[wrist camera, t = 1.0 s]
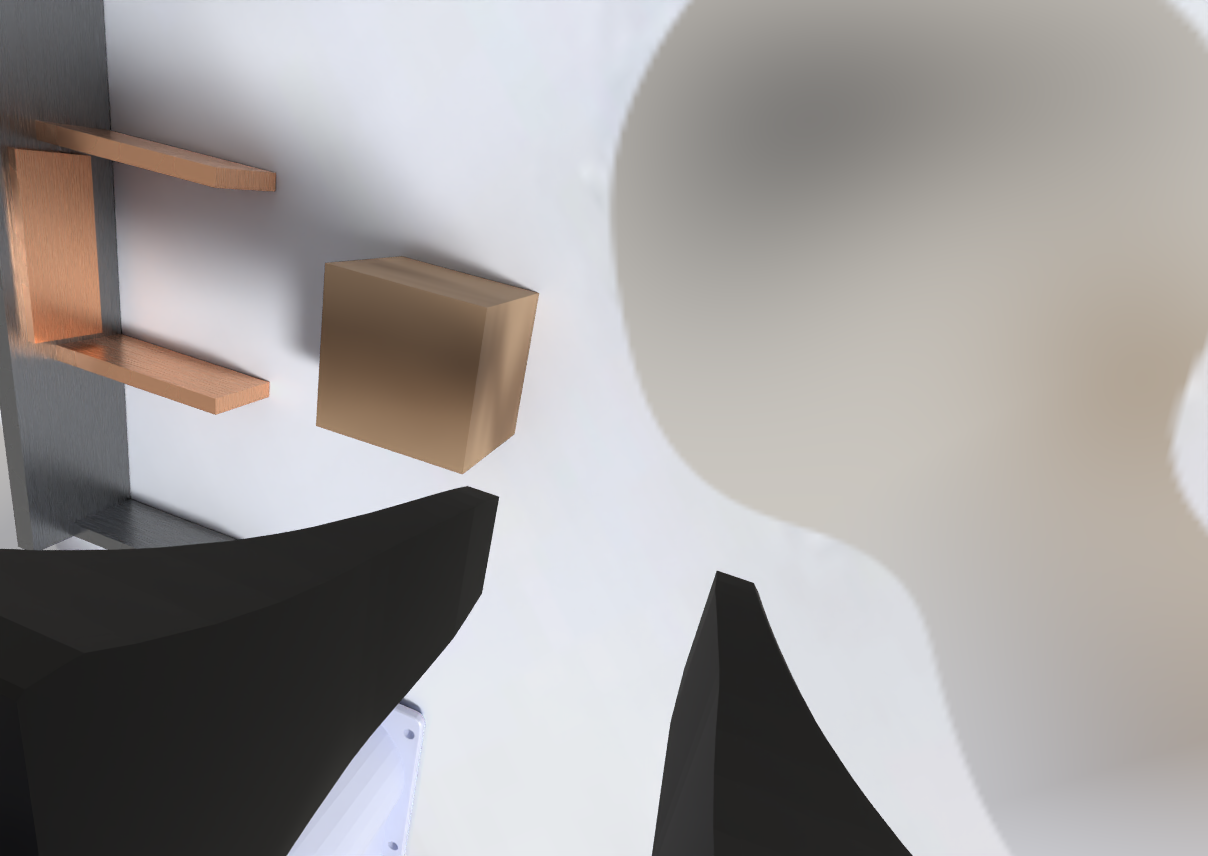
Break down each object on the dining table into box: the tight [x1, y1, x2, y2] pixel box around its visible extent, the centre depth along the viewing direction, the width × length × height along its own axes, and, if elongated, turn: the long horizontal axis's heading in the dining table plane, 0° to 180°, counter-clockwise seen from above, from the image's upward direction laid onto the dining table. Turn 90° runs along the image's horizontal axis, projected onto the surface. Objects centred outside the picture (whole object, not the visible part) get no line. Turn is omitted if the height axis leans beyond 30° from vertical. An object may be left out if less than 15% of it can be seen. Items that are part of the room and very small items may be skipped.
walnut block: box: [316, 256, 539, 474], centre depth 20 cm, size 5×5×4 cm
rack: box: [0, 0, 276, 550], centre depth 22 cm, size 23×8×4 cm, turn 167°
